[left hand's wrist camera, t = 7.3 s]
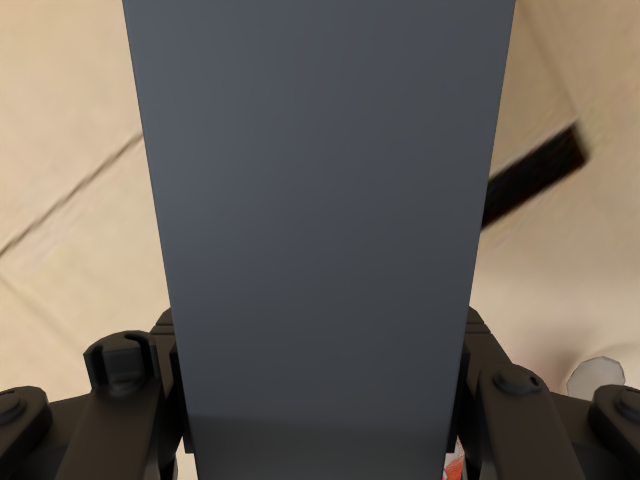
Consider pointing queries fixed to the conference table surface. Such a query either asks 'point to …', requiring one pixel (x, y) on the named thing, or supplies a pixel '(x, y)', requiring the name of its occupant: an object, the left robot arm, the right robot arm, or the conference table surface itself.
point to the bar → (319, 221)
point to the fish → (578, 386)
